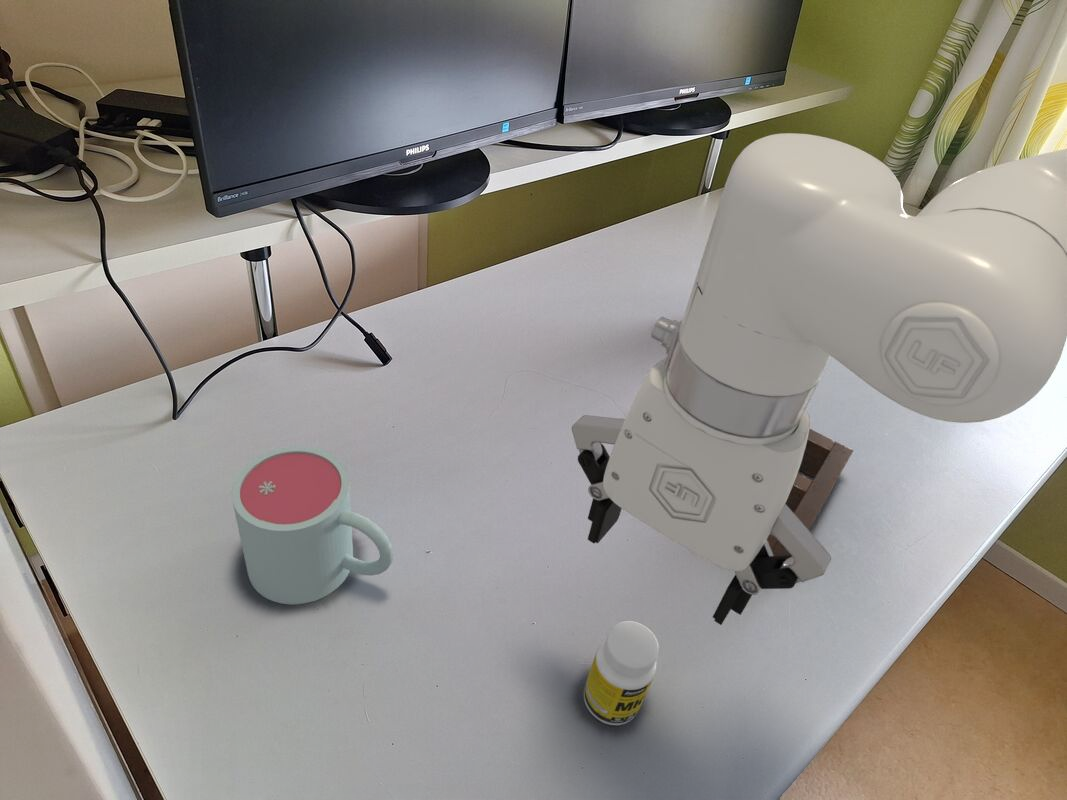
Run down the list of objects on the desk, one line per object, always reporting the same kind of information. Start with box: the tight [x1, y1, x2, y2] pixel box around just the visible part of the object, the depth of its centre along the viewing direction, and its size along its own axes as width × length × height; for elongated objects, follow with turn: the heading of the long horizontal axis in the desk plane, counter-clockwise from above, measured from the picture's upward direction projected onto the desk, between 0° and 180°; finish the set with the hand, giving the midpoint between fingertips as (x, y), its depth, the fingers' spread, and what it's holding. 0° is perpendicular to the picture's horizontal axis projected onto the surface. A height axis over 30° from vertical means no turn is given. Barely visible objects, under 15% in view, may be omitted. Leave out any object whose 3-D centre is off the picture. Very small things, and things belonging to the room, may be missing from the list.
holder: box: [767, 427, 854, 556], centre depth 80 cm, size 10×18×4 cm, turn 145°
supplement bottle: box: [583, 620, 660, 726], centre depth 60 cm, size 5×5×8 cm
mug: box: [231, 445, 394, 605], centre depth 65 cm, size 14×9×10 cm
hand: (662, 567), depth 52 cm, fingers open, 9 cm apart
